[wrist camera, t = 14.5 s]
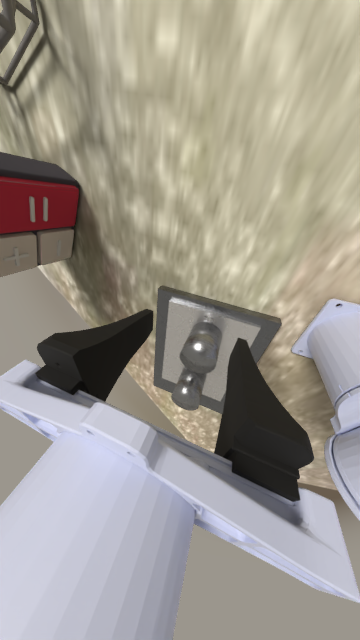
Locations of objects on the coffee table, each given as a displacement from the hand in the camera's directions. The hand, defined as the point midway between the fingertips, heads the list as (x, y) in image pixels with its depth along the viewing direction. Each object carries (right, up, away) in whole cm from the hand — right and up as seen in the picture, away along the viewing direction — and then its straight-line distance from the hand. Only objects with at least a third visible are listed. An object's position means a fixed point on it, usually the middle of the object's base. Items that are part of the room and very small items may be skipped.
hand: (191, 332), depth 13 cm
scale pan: (+2, -5, +13) cm, 14 cm away
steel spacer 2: (+1, -9, +16) cm, 18 cm away
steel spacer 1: (+3, -1, +10) cm, 10 cm away
